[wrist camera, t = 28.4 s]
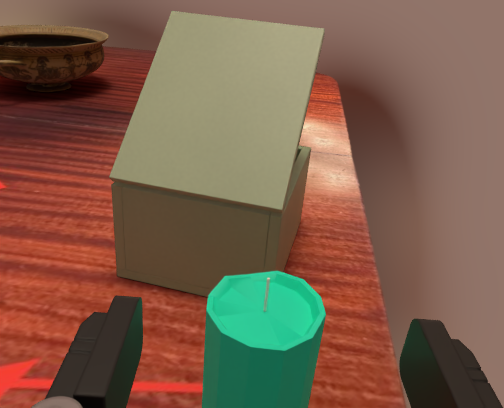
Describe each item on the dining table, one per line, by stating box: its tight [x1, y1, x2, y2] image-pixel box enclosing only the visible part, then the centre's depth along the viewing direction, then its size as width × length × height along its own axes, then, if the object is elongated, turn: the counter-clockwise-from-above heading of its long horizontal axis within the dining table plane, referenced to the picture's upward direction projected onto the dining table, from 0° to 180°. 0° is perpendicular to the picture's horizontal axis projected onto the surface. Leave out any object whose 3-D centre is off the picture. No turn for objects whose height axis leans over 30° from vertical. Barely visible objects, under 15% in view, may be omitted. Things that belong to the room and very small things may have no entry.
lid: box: [109, 11, 325, 214], centre depth 39 cm, size 17×14×1 cm
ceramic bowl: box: [0, 25, 109, 92], centre depth 90 cm, size 30×24×10 cm
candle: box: [202, 271, 326, 408], centre depth 26 cm, size 6×6×12 cm
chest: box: [111, 146, 311, 297], centre depth 45 cm, size 16×14×9 cm
